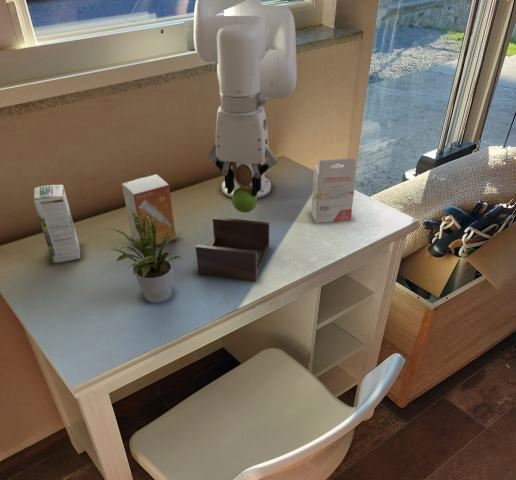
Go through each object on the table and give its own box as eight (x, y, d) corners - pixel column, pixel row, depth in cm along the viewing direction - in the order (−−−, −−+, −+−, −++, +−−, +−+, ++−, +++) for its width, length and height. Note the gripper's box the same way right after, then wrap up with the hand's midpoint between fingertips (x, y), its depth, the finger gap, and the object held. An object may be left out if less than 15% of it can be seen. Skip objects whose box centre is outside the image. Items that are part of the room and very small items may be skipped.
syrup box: (52, 250, 112) (31, 187, 102) (80, 245, 113) (62, 182, 103) (53, 264, 108) (31, 199, 98) (82, 259, 109) (63, 195, 99)
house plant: (103, 288, 101) (83, 213, 90) (165, 264, 107) (153, 190, 96) (137, 325, 93) (119, 247, 81) (202, 296, 99) (193, 220, 87)
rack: (216, 243, 113) (213, 216, 108) (269, 249, 111) (269, 222, 106) (198, 274, 104) (195, 246, 100) (256, 282, 102) (255, 254, 97)
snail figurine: (242, 201, 115) (241, 148, 107) (262, 211, 112) (262, 156, 104) (224, 209, 113) (221, 155, 105) (243, 219, 109) (242, 164, 101)
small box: (143, 250, 111) (132, 194, 102) (131, 238, 115) (120, 182, 106) (177, 239, 114) (169, 184, 105) (164, 227, 118) (156, 173, 109)
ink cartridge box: (345, 210, 123) (352, 149, 113) (351, 220, 119) (358, 158, 109) (310, 213, 122) (314, 151, 112) (314, 223, 118) (319, 161, 109)
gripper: (288, 98, 98) (285, 188, 111) (203, 93, 101) (210, 181, 114) (280, 111, 93) (278, 204, 105) (191, 105, 96) (199, 196, 108)
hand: (243, 191), depth 109 cm, fingers closed on snail figurine, 4 cm apart
